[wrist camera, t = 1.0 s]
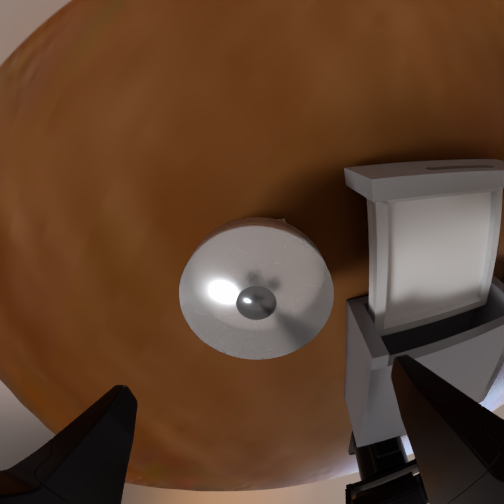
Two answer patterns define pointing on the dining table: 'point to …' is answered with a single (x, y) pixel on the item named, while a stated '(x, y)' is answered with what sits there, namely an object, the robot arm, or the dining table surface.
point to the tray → (429, 237)
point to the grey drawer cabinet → (424, 351)
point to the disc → (256, 289)
